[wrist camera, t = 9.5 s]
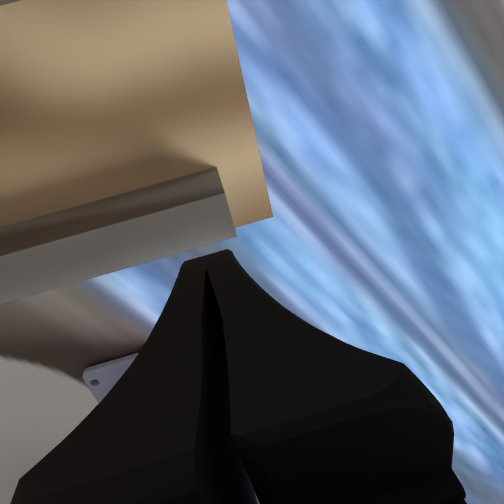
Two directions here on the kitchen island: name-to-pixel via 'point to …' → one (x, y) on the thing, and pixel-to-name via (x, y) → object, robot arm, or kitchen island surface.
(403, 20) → the kitchen island surface
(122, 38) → the chute board
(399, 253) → the kitchen island surface
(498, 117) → the kitchen island surface
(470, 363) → the kitchen island surface
